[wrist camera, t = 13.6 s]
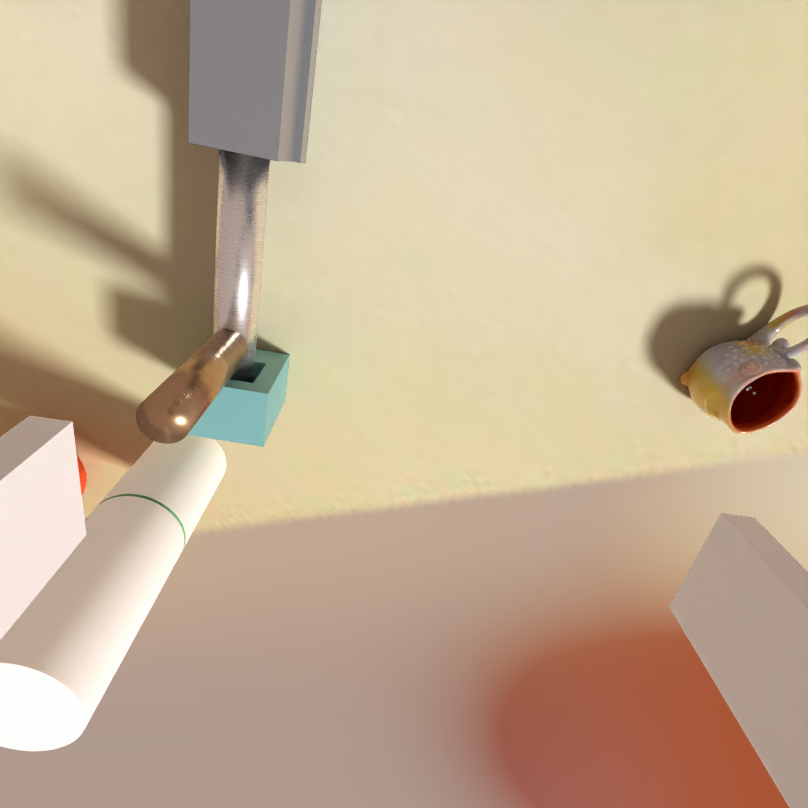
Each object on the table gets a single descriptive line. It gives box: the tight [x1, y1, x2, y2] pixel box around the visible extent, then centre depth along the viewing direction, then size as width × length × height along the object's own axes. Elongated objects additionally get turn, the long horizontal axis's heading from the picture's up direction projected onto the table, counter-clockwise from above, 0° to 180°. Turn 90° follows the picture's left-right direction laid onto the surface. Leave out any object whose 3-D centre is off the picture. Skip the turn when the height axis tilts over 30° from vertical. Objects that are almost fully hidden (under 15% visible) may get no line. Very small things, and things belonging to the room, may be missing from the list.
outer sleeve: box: [188, 0, 322, 163], centre depth 32 cm, size 6×14×8 cm, turn 169°
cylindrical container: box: [0, 435, 226, 751], centre depth 38 cm, size 7×7×25 cm
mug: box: [680, 305, 808, 434], centre depth 43 cm, size 12×7×7 cm, turn 143°
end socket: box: [187, 349, 290, 447], centre depth 42 cm, size 7×4×8 cm, turn 79°
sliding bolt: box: [136, 149, 270, 444], centre depth 32 cm, size 3×18×15 cm, turn 169°
